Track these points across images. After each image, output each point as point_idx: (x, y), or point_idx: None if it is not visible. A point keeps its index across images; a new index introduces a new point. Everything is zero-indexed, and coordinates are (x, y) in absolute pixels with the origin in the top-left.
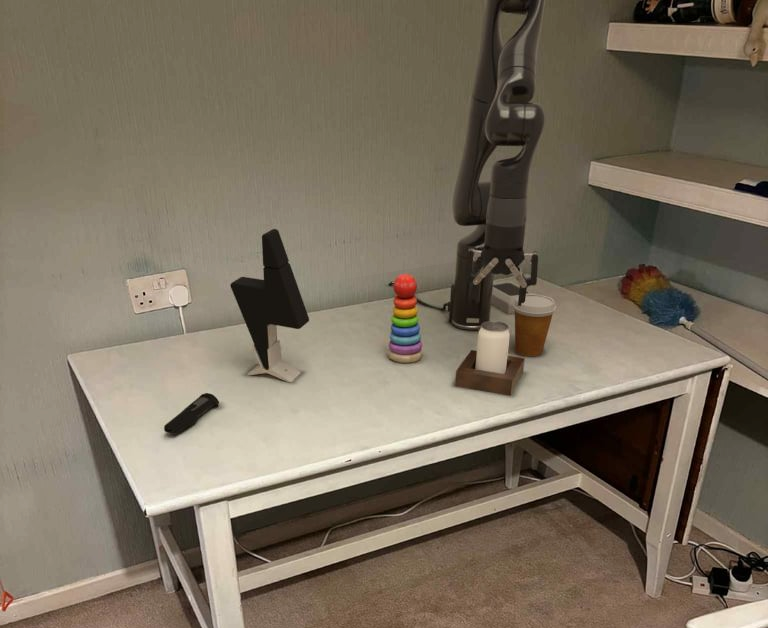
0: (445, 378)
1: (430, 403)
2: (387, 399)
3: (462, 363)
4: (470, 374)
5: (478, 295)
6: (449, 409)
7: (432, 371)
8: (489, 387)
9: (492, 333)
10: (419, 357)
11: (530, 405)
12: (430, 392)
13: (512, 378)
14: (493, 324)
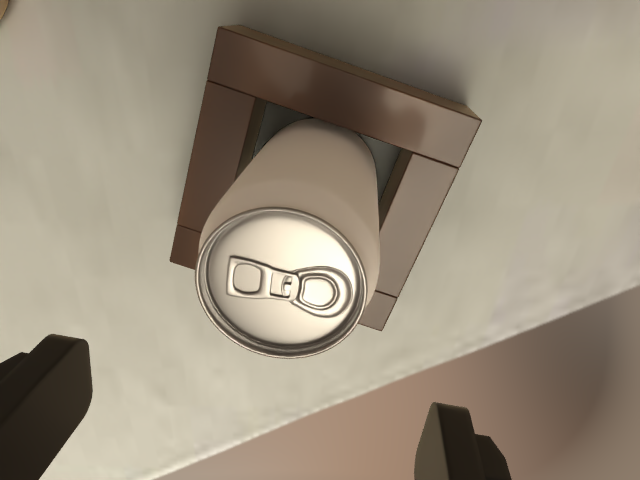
0: (151, 172)
1: (131, 344)
2: (5, 322)
3: (187, 194)
4: None
5: (45, 462)
6: (189, 375)
7: (92, 109)
8: None
9: (268, 344)
10: (1, 8)
11: (434, 356)
12: (118, 279)
13: (383, 321)
14: (275, 238)
